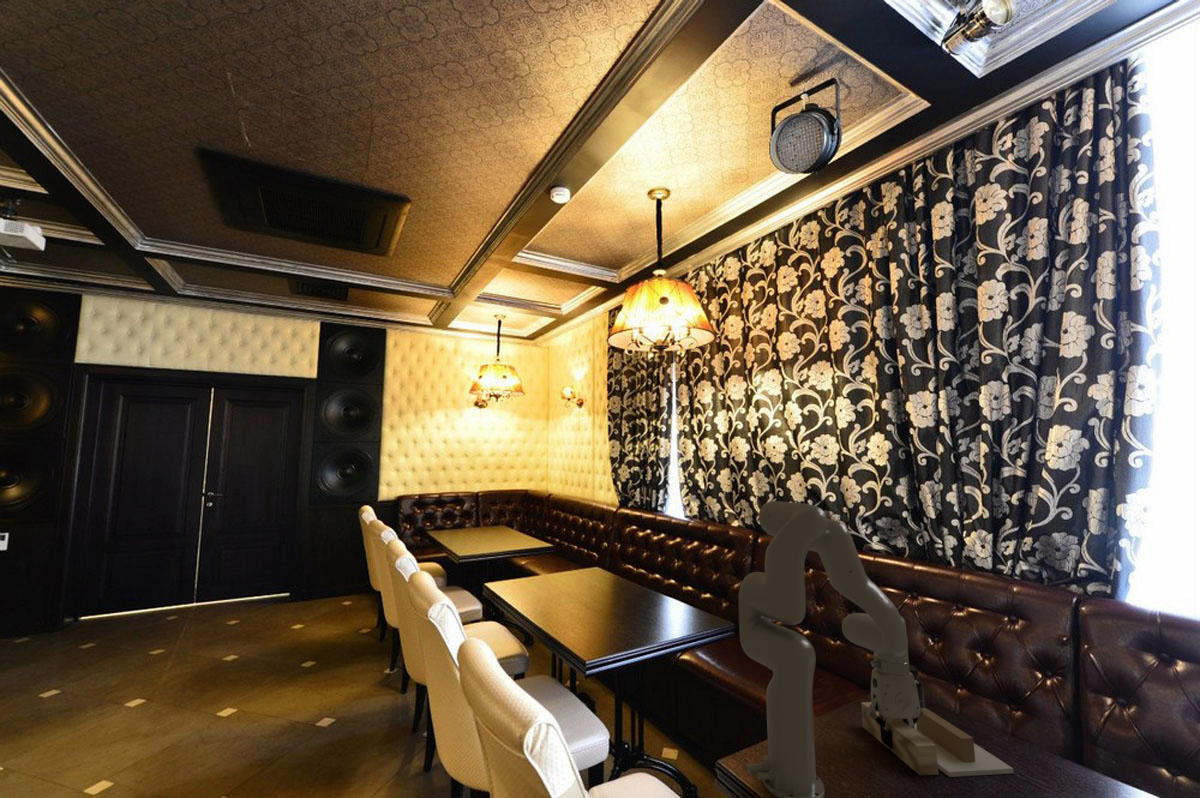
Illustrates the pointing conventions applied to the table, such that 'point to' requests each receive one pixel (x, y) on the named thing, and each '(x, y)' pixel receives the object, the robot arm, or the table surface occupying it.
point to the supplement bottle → (918, 685)
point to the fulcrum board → (969, 768)
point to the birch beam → (905, 743)
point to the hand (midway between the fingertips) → (897, 743)
